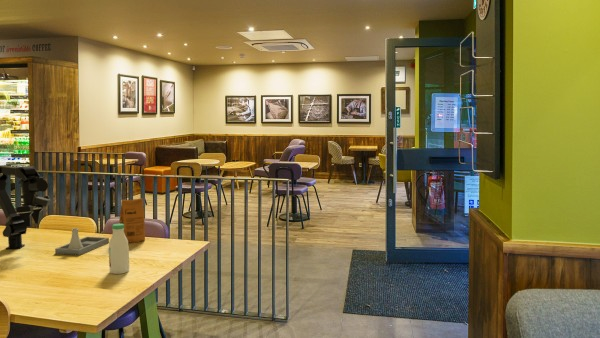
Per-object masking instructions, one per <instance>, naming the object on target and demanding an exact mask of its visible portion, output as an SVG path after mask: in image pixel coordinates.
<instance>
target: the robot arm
mask: <svg viewBox="0 0 600 338" xmlns="http://www.w3.org/2000/svg"><path fill="white" fill-rule="evenodd" d="M9 176H15V177H16V178H17V179H20V180H18V184H20V185H21V187H20V188H21V193H22V194H21V195H20V198H21V199H22V201H23V203H22V204H21V205H19V206H17V207H16V208H15V206H14V204H13V202H12V200H11V198H10V195H9V193H8V191H7V190H6V189H7V180H8V179H9ZM48 188H49V183H48V182H47V181H46V180H45V179H44V177H43V176H41V174H39V172H38V170H37V169H36V167H35V166H33V165H27V166H13V165H12V166H10V165H6V164H5V165H0V208H1V210H2V211H3V214H4V216H5V218H6V219H5V223H4V225H5V228H4V229H3V230H2V236H3V237H5V238H7V241H8V246H7V247H5V250H16V249H17V250H18V249H19V250H20V249H21V248H23V247H25V246H26V244H23V239H22V238H23V237H22V235H26V234H27V230H28V228H29V227H30V228H31V225H32V223H31V222H32V219H33V221H34V223H35V224H36V225H37V224H39V222H40V216H41V212H42V211H43V210H44V209H45V208H46V207H49V206H50V203H51V202H52V200H51V199H52V198H51V197H50V196H49V195H44V196H39V195H40V194H39V193H44V192H46V191H47V190H48ZM31 217H32V218H31Z"/></svg>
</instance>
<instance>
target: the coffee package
mask: <svg viewBox="0 0 600 338" xmlns="http://www.w3.org/2000/svg"><path fill="white" fill-rule="evenodd" d="M118 224H124V234H125V236H126V238H127V240H128V244H129V243H138V242H143V241H145V240H146V227H145V225H146V224H145V210H144V200H143V198H142V197H141V198H136V199H121V206H120V212H119V223H118Z"/></svg>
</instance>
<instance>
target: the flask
mask: <svg viewBox="0 0 600 338" xmlns="http://www.w3.org/2000/svg"><path fill="white" fill-rule="evenodd" d="M80 239H81V238H80V235H79V228H72V229H71V239H70V241H69V243H70V244H69V243H68V244H69V247H68V249H77V250H79V249H81V248H83V245H82V243H81V241H80Z"/></svg>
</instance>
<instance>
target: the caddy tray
mask: <svg viewBox="0 0 600 338" xmlns="http://www.w3.org/2000/svg"><path fill="white" fill-rule="evenodd" d="M80 241H81V243H82V245H83V248H81V249H79V250H77V249H68V247H69V244H70V242H68V243H67V244H64V245H61V246H59V247H56V248H54V253H55V255H63V256H64V255H66V256H82V255H83V254H87V253H88V252H90V251H94V250H95V249H97V248H100V247H102V246H105V245H107V244H109V242H110V238H109V237H100V236H85V237H83V238H80Z"/></svg>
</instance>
